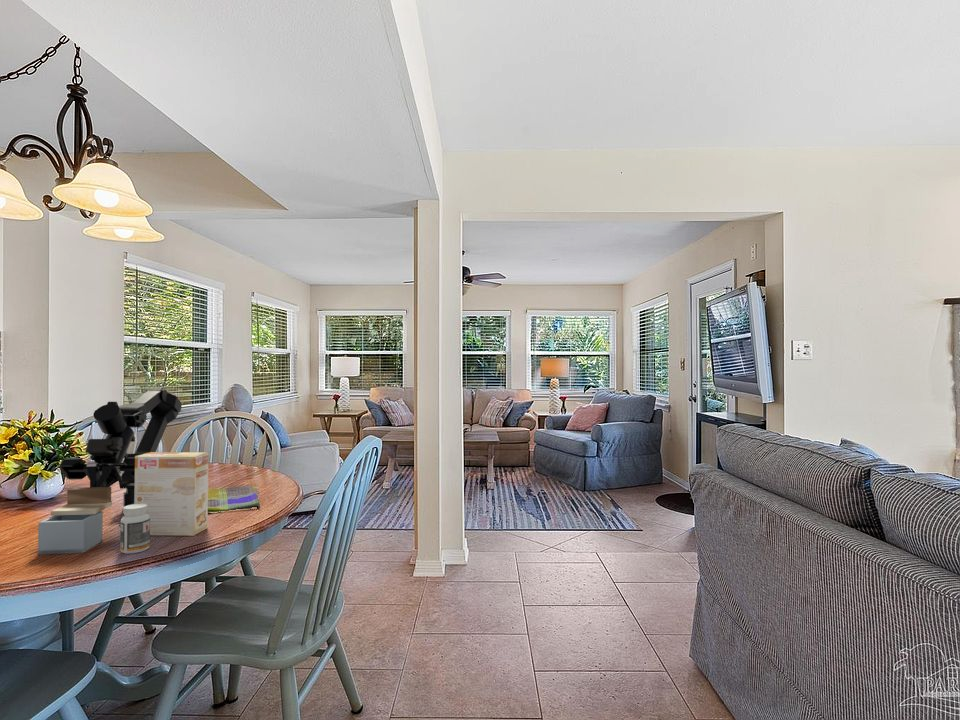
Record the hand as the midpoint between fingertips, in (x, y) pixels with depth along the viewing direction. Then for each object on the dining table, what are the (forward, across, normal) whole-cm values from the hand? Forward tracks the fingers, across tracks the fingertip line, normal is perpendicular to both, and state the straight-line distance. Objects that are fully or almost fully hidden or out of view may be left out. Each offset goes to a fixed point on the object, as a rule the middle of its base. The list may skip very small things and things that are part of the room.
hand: (92, 497), depth 132 cm
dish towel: (-14, +23, +28) cm, 39 cm away
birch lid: (+4, 0, -2) cm, 5 cm away
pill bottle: (+15, +15, -2) cm, 21 cm away
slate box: (+13, 0, +1) cm, 13 cm away
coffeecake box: (+6, +18, +8) cm, 20 cm away
